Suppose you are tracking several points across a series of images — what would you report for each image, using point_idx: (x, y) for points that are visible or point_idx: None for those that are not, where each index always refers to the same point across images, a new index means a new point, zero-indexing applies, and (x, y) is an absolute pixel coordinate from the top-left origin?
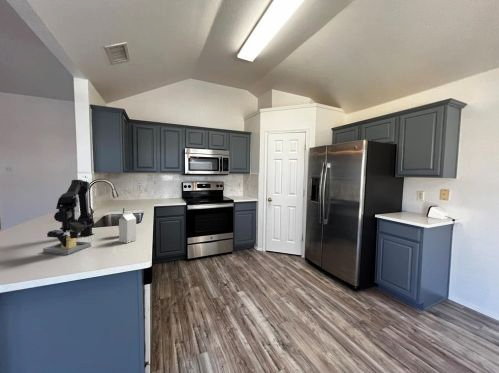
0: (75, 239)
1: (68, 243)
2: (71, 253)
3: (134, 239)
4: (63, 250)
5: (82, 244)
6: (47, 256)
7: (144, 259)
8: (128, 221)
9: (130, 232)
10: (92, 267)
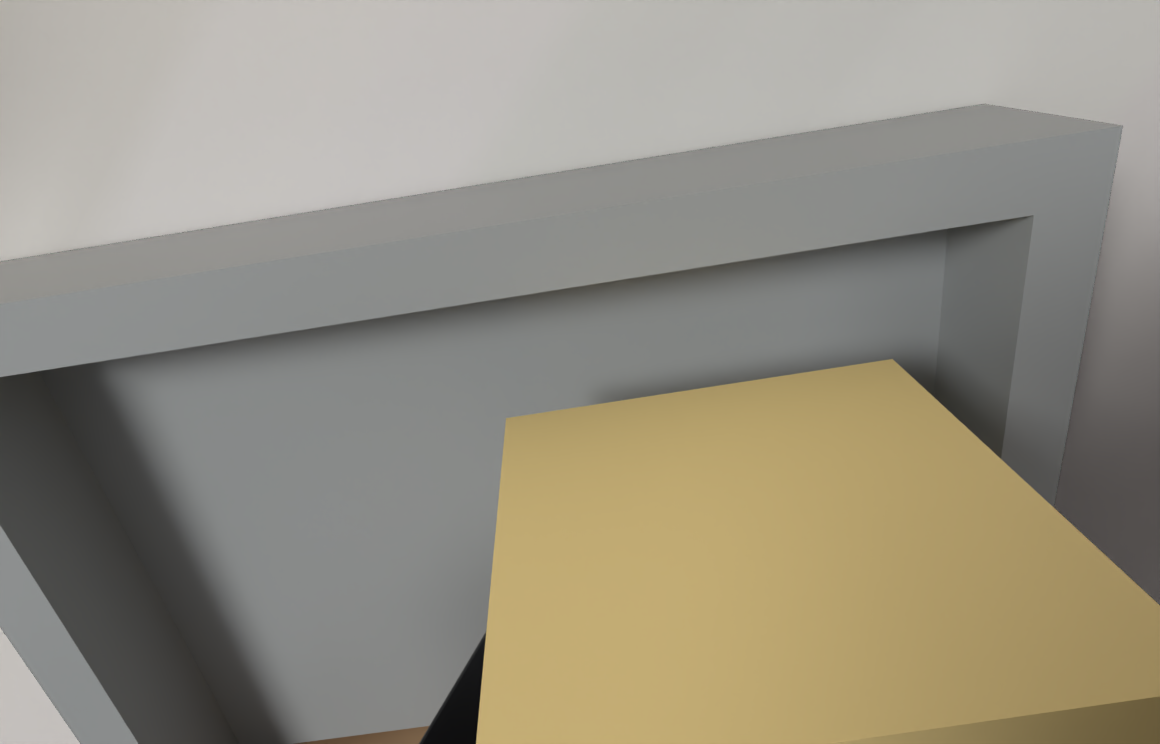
0: (553, 697)
1: (1062, 523)
2: (860, 126)
3: None
4: (1071, 374)
5: (130, 582)
6: (1135, 556)
7: None
8: None
9: None
10: None
